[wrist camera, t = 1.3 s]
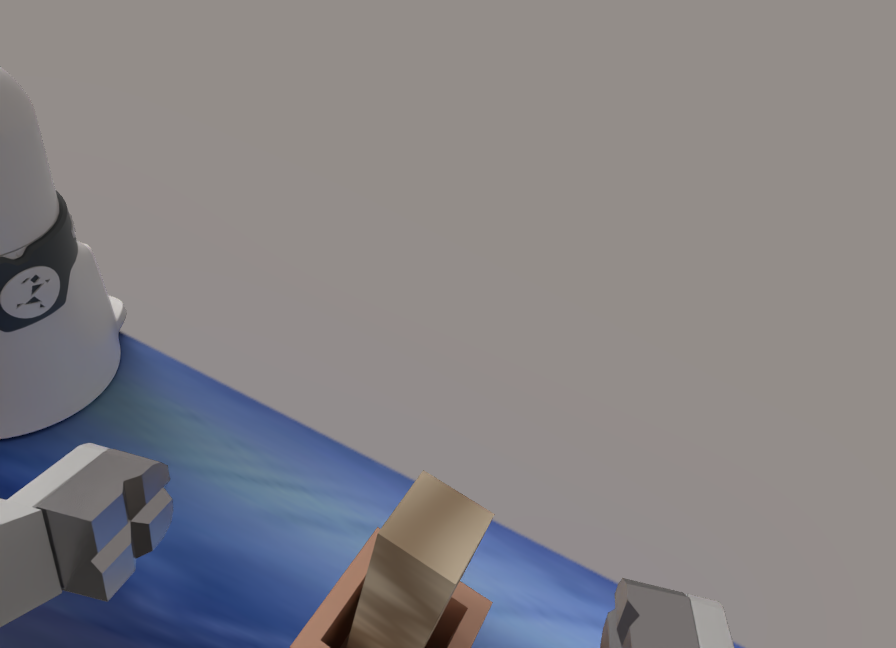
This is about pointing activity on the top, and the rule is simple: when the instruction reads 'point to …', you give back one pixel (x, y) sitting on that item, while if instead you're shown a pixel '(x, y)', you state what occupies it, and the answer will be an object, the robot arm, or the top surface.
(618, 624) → the robot arm
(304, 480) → the top surface
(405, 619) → the birch stick
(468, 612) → the terracotta cup
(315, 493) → the top surface
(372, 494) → the top surface
